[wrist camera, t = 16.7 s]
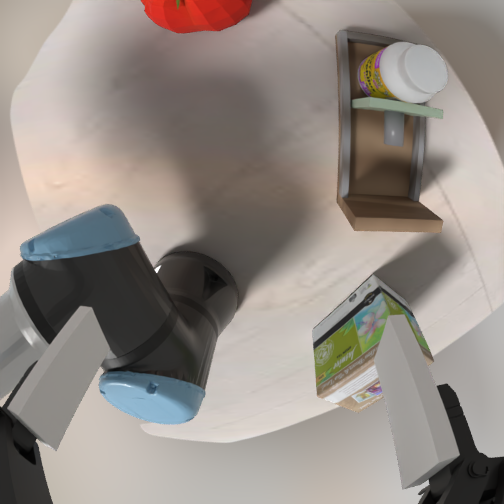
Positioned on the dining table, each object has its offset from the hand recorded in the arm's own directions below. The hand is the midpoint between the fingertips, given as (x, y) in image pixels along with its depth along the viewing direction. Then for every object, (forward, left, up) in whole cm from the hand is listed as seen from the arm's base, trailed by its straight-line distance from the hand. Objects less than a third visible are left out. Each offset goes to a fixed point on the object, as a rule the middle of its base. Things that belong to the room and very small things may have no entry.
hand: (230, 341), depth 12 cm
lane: (+9, -16, -29) cm, 34 cm away
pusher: (+8, -15, -27) cm, 33 cm away
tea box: (-23, -16, -29) cm, 40 cm away
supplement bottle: (+14, -15, -28) cm, 35 cm away
